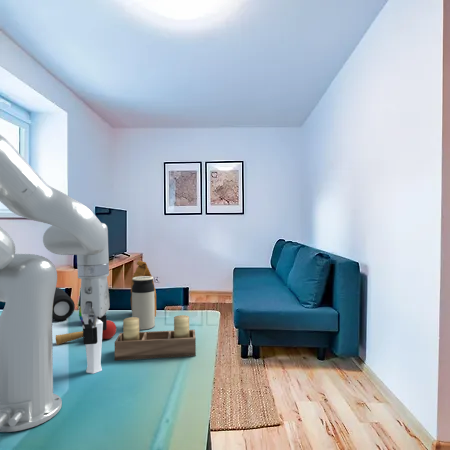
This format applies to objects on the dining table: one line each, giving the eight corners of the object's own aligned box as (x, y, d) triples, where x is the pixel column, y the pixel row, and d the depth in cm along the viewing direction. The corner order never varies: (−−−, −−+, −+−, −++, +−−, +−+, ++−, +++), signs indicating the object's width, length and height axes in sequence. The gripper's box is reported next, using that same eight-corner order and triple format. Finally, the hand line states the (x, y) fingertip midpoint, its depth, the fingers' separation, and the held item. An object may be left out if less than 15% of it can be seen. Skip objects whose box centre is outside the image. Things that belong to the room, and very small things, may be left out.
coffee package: (133, 320, 133) (132, 263, 133) (129, 312, 144) (128, 260, 144) (158, 317, 137) (158, 262, 137) (153, 310, 148) (152, 259, 148)
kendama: (56, 354, 103) (117, 338, 109) (53, 332, 103) (114, 318, 110) (59, 349, 110) (117, 335, 116) (56, 330, 111) (114, 316, 117)
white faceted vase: (83, 375, 84) (82, 315, 84) (85, 368, 89) (84, 310, 89) (103, 373, 86) (102, 313, 86) (104, 366, 90) (103, 309, 90)
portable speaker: (76, 320, 134) (75, 294, 134) (47, 324, 129) (47, 298, 129) (65, 307, 156) (65, 285, 156) (41, 310, 150) (41, 287, 150)
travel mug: (156, 328, 122) (156, 278, 122) (133, 331, 119) (133, 280, 119) (152, 322, 129) (152, 275, 129) (131, 325, 126) (130, 276, 126)
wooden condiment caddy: (195, 355, 96) (195, 320, 96) (114, 360, 94) (114, 324, 94) (195, 345, 104) (194, 313, 104) (120, 349, 102) (120, 316, 101)
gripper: (100, 276, 79) (102, 348, 80) (115, 265, 96) (117, 324, 97) (66, 277, 78) (69, 350, 79) (88, 266, 95) (90, 326, 96)
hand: (95, 336), depth 88 cm, fingers open, 9 cm apart
